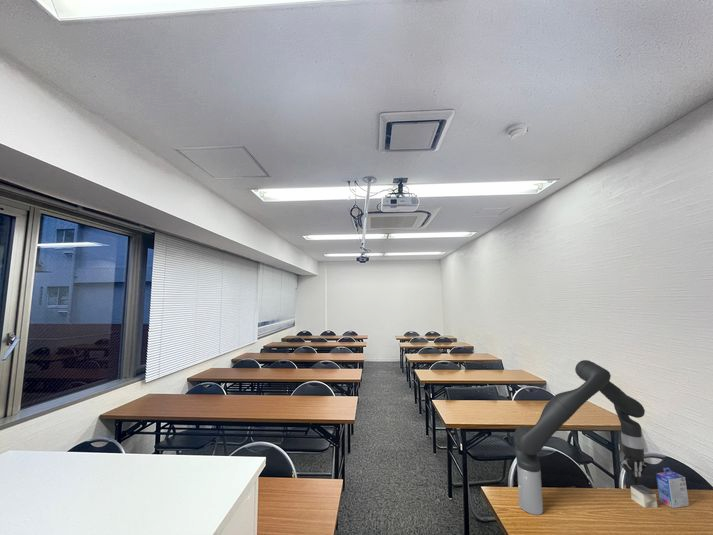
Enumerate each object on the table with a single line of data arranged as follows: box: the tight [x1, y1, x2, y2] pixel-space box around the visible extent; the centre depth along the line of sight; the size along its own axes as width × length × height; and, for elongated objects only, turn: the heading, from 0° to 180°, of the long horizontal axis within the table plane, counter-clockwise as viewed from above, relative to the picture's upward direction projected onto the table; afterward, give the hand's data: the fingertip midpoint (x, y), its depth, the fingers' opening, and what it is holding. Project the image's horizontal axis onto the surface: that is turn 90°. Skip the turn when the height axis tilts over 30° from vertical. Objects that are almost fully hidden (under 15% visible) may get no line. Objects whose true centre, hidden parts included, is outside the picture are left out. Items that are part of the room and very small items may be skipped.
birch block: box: [630, 484, 658, 509], centre depth 134 cm, size 6×6×6 cm
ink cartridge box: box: [655, 466, 690, 509], centre depth 135 cm, size 10×6×14 cm, turn 101°
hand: (636, 484), depth 135 cm, fingers closed
